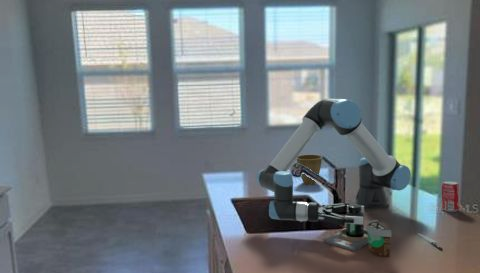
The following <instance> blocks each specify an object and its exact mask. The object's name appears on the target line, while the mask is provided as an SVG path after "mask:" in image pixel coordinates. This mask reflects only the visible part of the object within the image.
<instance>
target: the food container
mask: <svg viewBox="0 0 480 273" xmlns="http://www.w3.org/2000/svg"><path fill="white" fill-rule="evenodd" d="M378 220H379V219H373V220H370V221H368V222H367V224H366V227H365V229H366V231H367V232H368V239H369V243H368V249H369V250H368V251H369V253H370V254H372V255H373V256H376V257H380V258H390V256H391V254H390V253H391V240H392V239H391V238H392V237H393V236H392V230H390V229H389V230H388V229H387V228H386V227H385V226H384V225H382V224H380V223H379V221H378Z"/></svg>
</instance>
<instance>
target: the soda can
mask: <svg viewBox="0 0 480 273" xmlns="http://www.w3.org/2000/svg"><path fill="white" fill-rule="evenodd" d="M441 184H442V185H441V209H442V210H443V211H444V212H447V213H456V212H458V211H459V209H460V185H459V182H458V181H455V180H445V181H443V182H442V183H441Z"/></svg>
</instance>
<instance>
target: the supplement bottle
mask: <svg viewBox="0 0 480 273" xmlns="http://www.w3.org/2000/svg"><path fill="white" fill-rule="evenodd" d="M348 205H349V206H348V212H347V211H346V213H345V216H358V217H363V224H346V223H345V228H346V236H349V237H357V238H359V237H363V236H364V229H365V215H364V213H362V212H361V211H362V209H361V205H358V204H356V203H351V204H348Z"/></svg>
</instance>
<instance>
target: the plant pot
mask: <svg viewBox="0 0 480 273" xmlns="http://www.w3.org/2000/svg"><path fill="white" fill-rule="evenodd" d="M322 161H323V157H322V156H321V155H319V154H302V155H301V154H300V155H298V157H297V158H296V162H297V164H298V163H300V164H302V165H304V166H306V167H308V168H309V169H311V170H312V171H313V172H315V173H316V174H318V175H319V174H320V173H321V172H320V171H321V167H322ZM300 178H301V180H302V184H304V185H307V184H313V185H316V184H317V182H315V181H314V180H312V179H311V178H309V177H307V176H306V175H305V174H302V176H301V175H300ZM315 183H316V184H315Z"/></svg>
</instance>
